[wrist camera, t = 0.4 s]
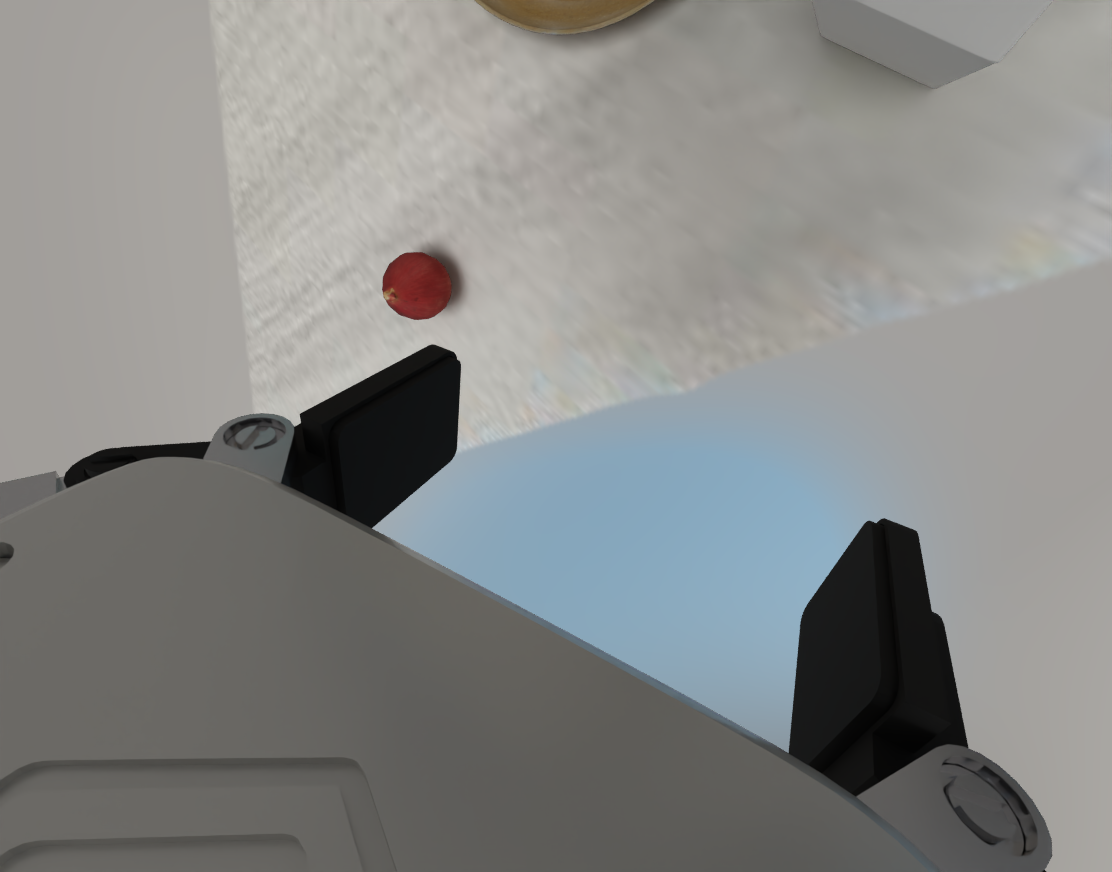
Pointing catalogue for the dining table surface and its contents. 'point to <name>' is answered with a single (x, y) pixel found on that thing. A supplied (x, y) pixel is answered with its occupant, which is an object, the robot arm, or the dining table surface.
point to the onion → (416, 286)
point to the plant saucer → (562, 13)
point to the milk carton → (928, 33)
